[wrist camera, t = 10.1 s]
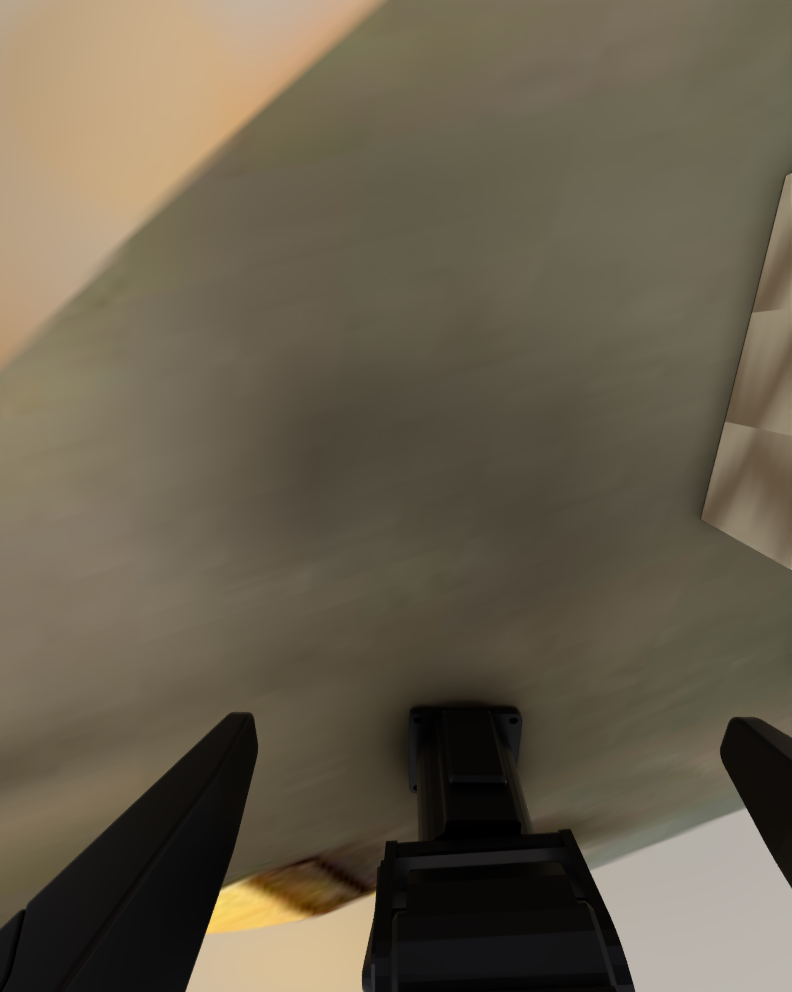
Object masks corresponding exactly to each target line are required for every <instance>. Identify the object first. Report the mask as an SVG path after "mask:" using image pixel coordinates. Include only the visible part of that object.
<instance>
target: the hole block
mask: <svg viewBox="0 0 792 992" xmlns="http://www.w3.org/2000/svg"><path fill="white" fill-rule="evenodd" d="M701 520H703V521H705V522H707V523H708V524H710V525H712V526H714V527H716V528H717V529H719V530H721V531H723V532H725V533H726V534H728V535H730V536H732V537H733V538H735V539H737V540H739V541H741V542H742V543H744V544H746V545H748V546H750V547H751V548H753V549H755V550H757V551H758V552H760V553H762V554H764V555H766V556H767V557H769V558H771V559H773V560H774V561H776V562H778V563H780V564H782V565H783V566H785V567H787V568H789V569H791V570H792V173H791V174H789V175H787V176H786V178H785V182H784V186H783V190H782V194H781V198H780V202H779V206H778V210H777V214H776V218H775V222H774V226H773V230H772V234H771V238H770V242H769V246H768V250H767V254H766V258H765V262H764V266H763V271H762V275H761V279H760V283H759V287H758V291H757V295H756V299H755V303H754V307H753V311H752V315H751V319H750V323H749V327H748V331H747V335H746V339H745V343H744V347H743V351H742V355H741V359H740V363H739V367H738V371H737V375H736V379H735V383H734V387H733V391H732V395H731V399H730V403H729V408H728V412H727V416H726V420H725V424H724V428H723V432H722V436H721V440H720V444H719V448H718V452H717V456H716V460H715V464H714V468H713V472H712V476H711V480H710V484H709V488H708V492H707V496H706V500H705V504H704V508H703V512H702V516H701Z"/></svg>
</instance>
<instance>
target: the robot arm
mask: <svg viewBox="0 0 792 992" xmlns="http://www.w3.org/2000/svg"><path fill="white" fill-rule="evenodd" d="M416 717H419V718H416ZM513 717H514V718H513ZM521 727H522V717H521V714H520V712H519V711H518V710H517V709H513V708H414V709H412V710H411V711H410V713H409V788H410V791H411V792H413V793H416V794H417V806H418V840H419V841H417V842H402V843H398V841H397V840H396V841H386V847H385V857H384V860H381V866H379V867H378V868H377V886H376V903H375V912H374V918H373V923H372V928H371V932H370V937H369V941H368V946H367V951H366V955H365V960H364V965H363V970H362V989H363V992H635V989H634V985H633V981H632V978H631V974H630V971H629V967H628V964H627V961H626V957H625V954H624V951H623V948H622V945H621V942H620V940H619V937H618V934H617V931H616V929H615V926H614V924H613V922H612V919H611V917H610V915H609V912H608V910H607V908H606V906H605V904H604V901H603V899H602V897H601V895H600V893H599V891H598V888H597V886H596V884H595V882H594V880H593V878H592V875H591V873H590V871H589V869H588V866H587V864H586V862H585V860H584V858H583V855H582V853H581V851H580V849H579V847H578V845H577V842H576V840H575V838H574V836H573V834H572V831H571V829H559V830H558V832H551V833H536V834H534V831H533V828H532V824H531V820H530V817H529V813H528V809H527V805H526V802H525V798H524V794H523V791H522V787H521V783H520V780H519V776H518V772H517V762H518V753H519V745H520V736H521ZM257 754H258V741H257V734H256V728H255V721H254V717H253V715H252V713H249V712H232V713H230V714H228V715H227V716H226V717H225V718H224V719H223V720H221V721H220V722H219V723H218V724H217V725H216V726H215V727H214V728H213V729H212V730H211V731H210V732H209V733H208V734H207V735H206V736H205V737H203V738H202V739H201V740H200V741H199V742H198V743H197V744H196V745H195V746H194V747H193V748H192V749H191V750H190V751H189V752H188V753H186V754H185V755H184V756H183V757H182V758H181V759H180V760H179V761H178V762H177V763H176V764H175V765H174V766H173V767H172V768H171V769H170V770H168V771H167V772H166V773H165V774H164V775H163V776H162V777H161V778H160V779H159V780H158V781H157V782H156V783H155V784H154V785H153V786H151V787H150V788H149V789H148V790H147V791H146V792H145V793H144V794H143V795H142V796H141V797H140V798H139V799H138V800H137V801H136V802H135V803H133V804H132V805H131V806H130V807H129V808H128V809H127V810H126V811H125V812H124V813H123V814H122V815H121V816H120V817H119V818H118V819H116V820H115V821H114V822H113V823H112V824H111V825H110V826H109V827H108V828H107V829H106V830H105V831H104V832H103V833H102V834H101V835H100V836H98V837H97V838H96V839H95V840H94V841H93V842H92V843H91V844H90V845H89V846H88V847H87V848H86V849H85V850H84V851H83V852H81V853H80V854H79V855H78V856H77V857H76V858H75V859H74V860H73V861H72V862H71V863H70V864H69V865H68V866H67V867H66V868H65V869H63V870H62V871H61V872H60V873H59V874H58V875H57V876H56V877H55V878H54V879H53V880H52V881H51V882H50V883H49V884H48V885H46V886H45V887H44V888H43V889H42V890H41V891H40V892H39V893H38V894H37V895H36V896H35V897H34V898H33V899H32V900H31V901H30V902H29V903H28V904H27V906H26V909H22V910H20V911H19V912H18V913H16V914H15V915H14V916H13V917H12V918H11V919H10V920H9V921H8V922H7V923H6V924H5V925H4V926H3V927H2V928H1V929H0V992H185V991H186V989H187V985H188V983H189V980H190V977H191V974H192V971H193V968H194V965H195V962H196V960H197V957H198V954H199V951H200V948H201V945H202V942H203V939H204V936H205V933H206V931H207V928H208V925H209V922H210V919H211V916H212V913H213V910H214V907H215V904H216V902H217V899H218V896H219V893H220V890H221V887H222V884H223V881H224V878H225V876H226V873H227V870H228V867H229V864H230V860H231V857H232V854H233V851H234V847H235V843H236V840H237V836H238V832H239V828H240V824H241V820H242V816H243V812H244V808H245V804H246V800H247V795H248V791H249V787H250V783H251V779H252V775H253V771H254V767H255V763H256V759H257ZM720 755H721V759H722V762H723V764H724V766H725V768H726V770H727V772H728V774H729V776H730V778H731V780H732V782H733V783H734V785H735V787H736V789H737V791H738V793H739V795H740V797H741V798H742V800H743V802H744V804H745V806H746V808H747V810H748V812H749V813H750V815H751V817H752V819H753V821H754V823H755V825H756V827H757V828H758V830H759V832H760V834H761V836H762V838H763V840H764V842H765V844H766V845H767V847H768V849H769V851H770V853H771V854H772V856H773V858H774V860H775V862H776V863H777V864H778V867H779V868H780V870H781V871H782V873H783V875H784V877H785V878H786V880H787V881H788V883H789V885H790V886H791V888H792V738H791V737H790V736H788V735H786V734H785V733H783V732H781V731H780V730H778V729H776V728H775V727H773V726H771V725H770V724H768V723H766V722H765V721H763V720H761V719H759V718H755V717H733V718H732V719H731V720H730V721H729V723H728V726H727V729H726V732H725V735H724V738H723V741H722V744H721V747H720Z"/></svg>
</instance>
